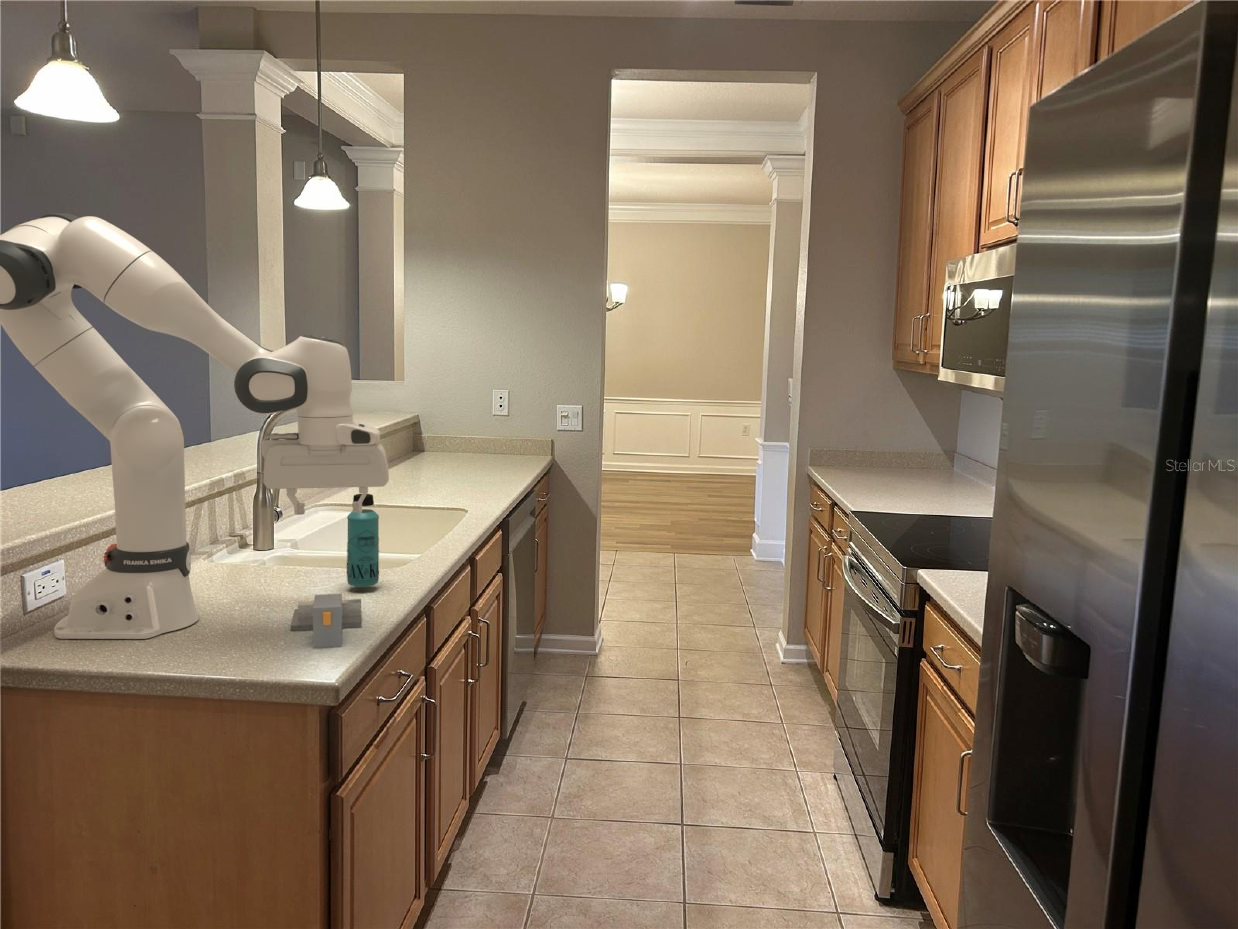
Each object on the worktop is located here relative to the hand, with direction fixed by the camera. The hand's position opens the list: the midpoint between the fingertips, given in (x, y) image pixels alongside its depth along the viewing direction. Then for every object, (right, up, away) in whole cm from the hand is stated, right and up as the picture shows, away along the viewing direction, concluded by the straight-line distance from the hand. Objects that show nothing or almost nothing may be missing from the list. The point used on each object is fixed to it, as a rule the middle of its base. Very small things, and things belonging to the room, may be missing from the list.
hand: (328, 513), depth 156 cm
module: (-1, -22, +2) cm, 22 cm away
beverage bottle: (-3, -18, +33) cm, 38 cm away
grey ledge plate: (-4, -20, +12) cm, 24 cm away
